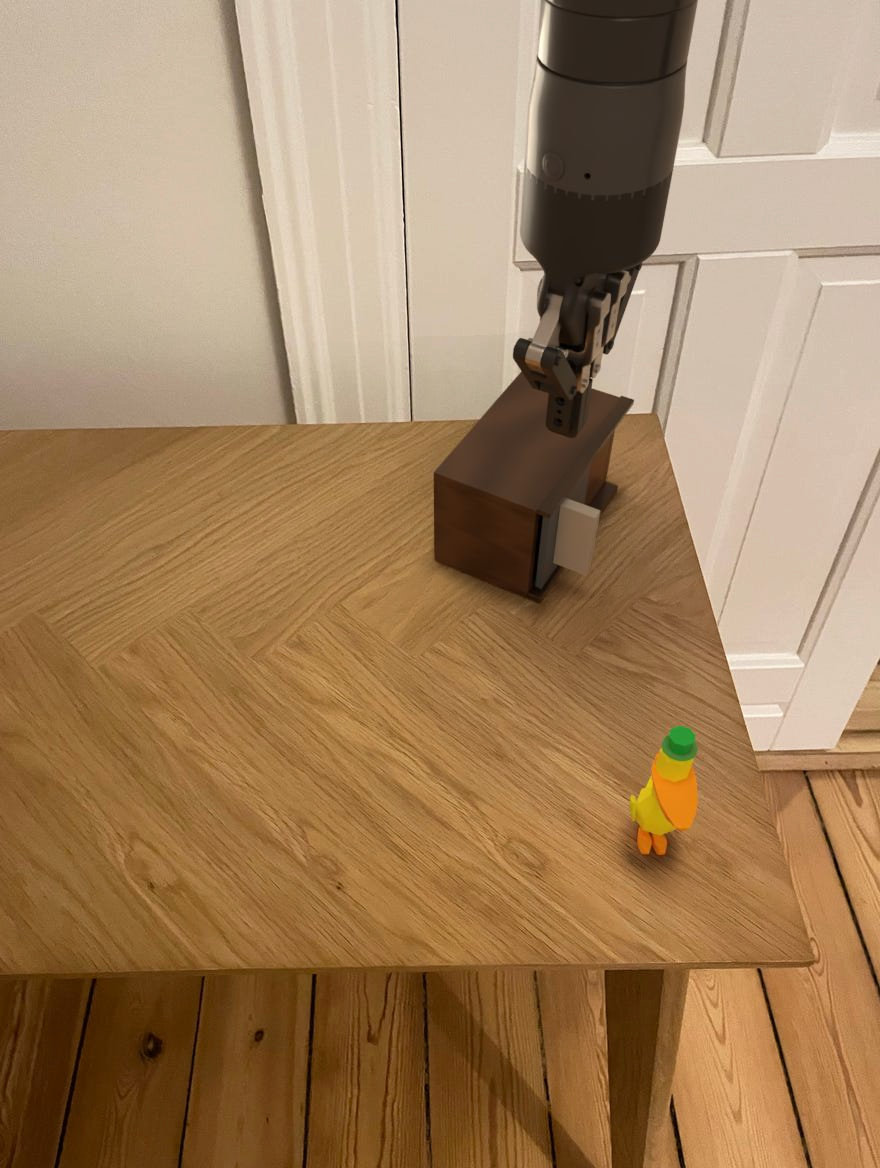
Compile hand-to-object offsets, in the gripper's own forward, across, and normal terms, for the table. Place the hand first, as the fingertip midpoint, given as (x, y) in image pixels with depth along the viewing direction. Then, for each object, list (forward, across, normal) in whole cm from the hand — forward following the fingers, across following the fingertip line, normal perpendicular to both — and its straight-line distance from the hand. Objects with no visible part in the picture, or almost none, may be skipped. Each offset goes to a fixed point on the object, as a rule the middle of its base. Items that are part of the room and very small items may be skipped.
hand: (565, 427), depth 63 cm
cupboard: (+21, +11, +7) cm, 25 cm away
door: (+20, +7, +1) cm, 21 cm away
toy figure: (+21, -13, -15) cm, 29 cm away
